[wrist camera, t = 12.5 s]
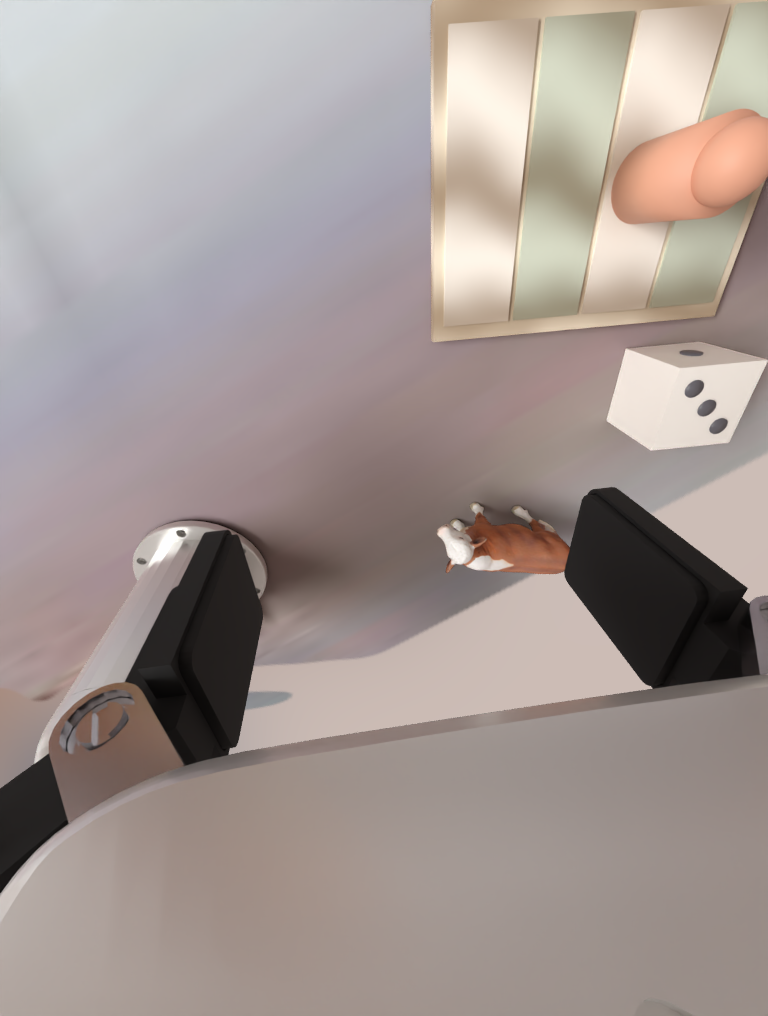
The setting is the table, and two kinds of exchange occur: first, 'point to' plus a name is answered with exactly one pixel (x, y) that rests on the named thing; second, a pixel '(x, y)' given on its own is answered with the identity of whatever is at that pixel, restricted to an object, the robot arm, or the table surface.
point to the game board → (577, 158)
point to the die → (683, 394)
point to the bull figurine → (504, 545)
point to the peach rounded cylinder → (693, 170)
